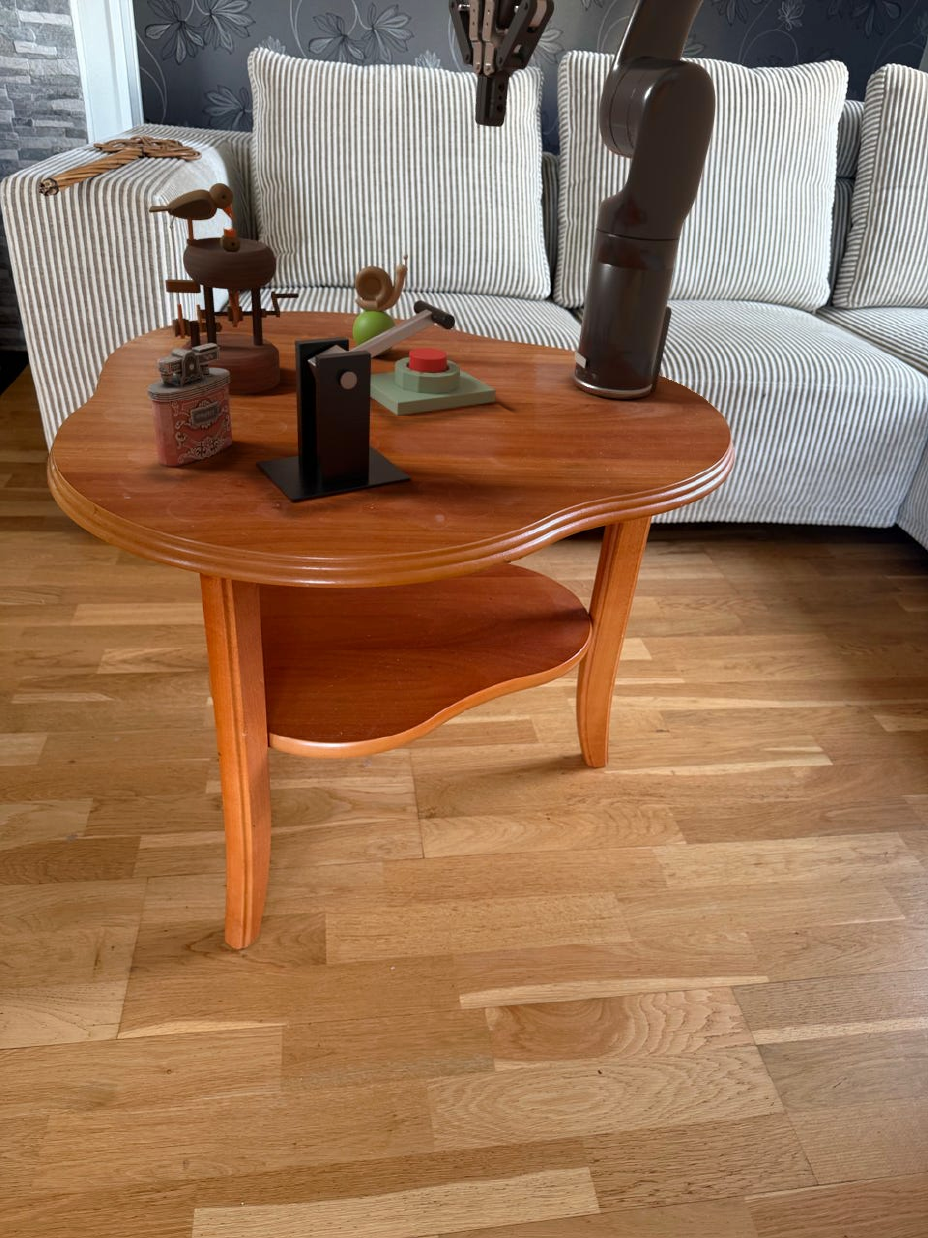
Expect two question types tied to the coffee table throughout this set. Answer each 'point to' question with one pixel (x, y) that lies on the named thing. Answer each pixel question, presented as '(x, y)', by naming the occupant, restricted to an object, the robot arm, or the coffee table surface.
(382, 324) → the snail figurine
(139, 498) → the coffee table surface
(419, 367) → the button
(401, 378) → the button box
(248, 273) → the bird automaton
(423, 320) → the lever
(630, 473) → the coffee table surface
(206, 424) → the lighter
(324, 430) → the bracket
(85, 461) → the coffee table surface
